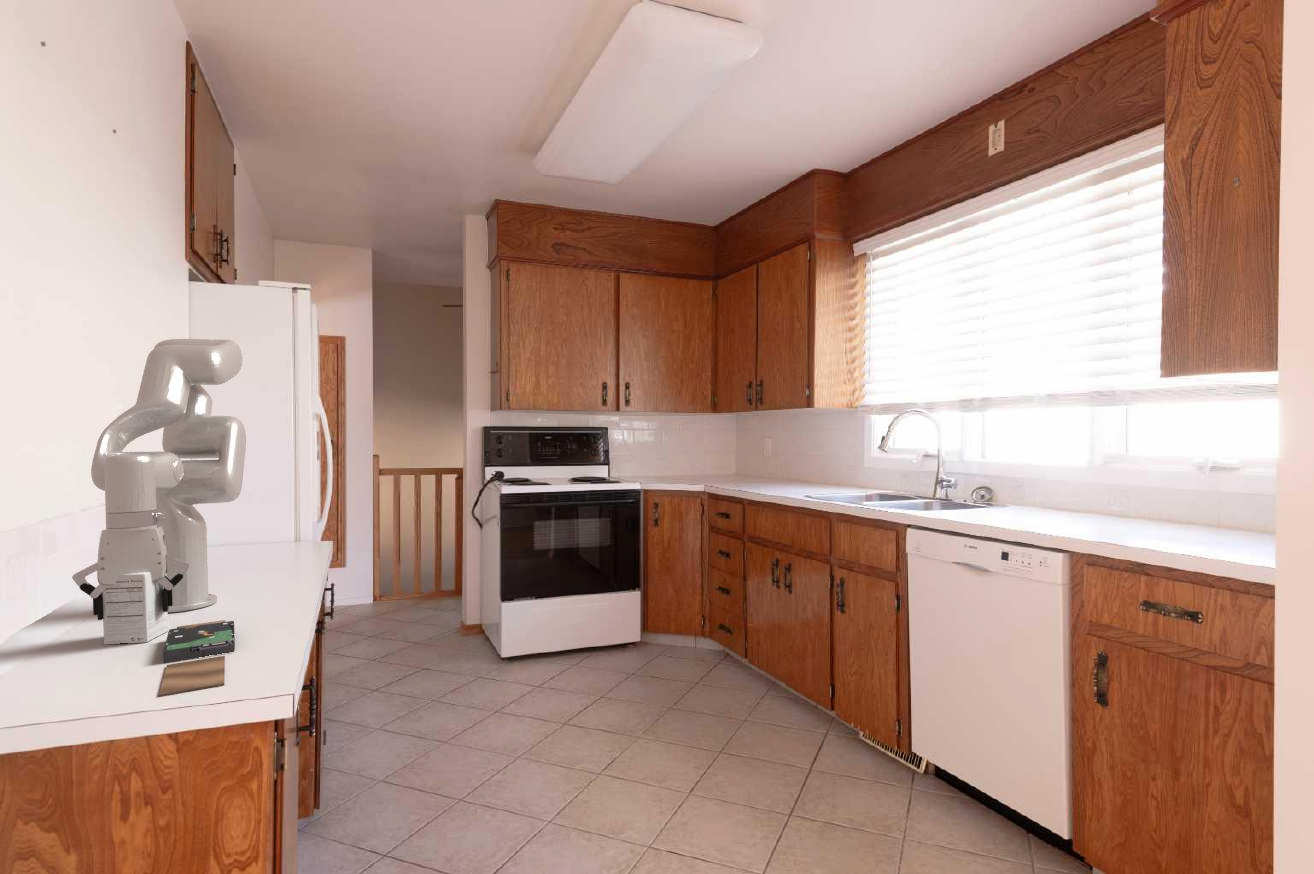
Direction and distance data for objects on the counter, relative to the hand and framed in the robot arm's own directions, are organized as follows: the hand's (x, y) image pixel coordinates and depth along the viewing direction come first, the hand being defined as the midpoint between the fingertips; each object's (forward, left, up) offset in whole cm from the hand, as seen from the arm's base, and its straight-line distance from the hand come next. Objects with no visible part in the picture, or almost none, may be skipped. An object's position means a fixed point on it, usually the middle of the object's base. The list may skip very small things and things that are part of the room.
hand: (134, 614), depth 129 cm
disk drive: (+12, +11, -5) cm, 17 cm away
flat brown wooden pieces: (+15, +10, -5) cm, 19 cm away
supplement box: (-1, 0, -5) cm, 5 cm away
